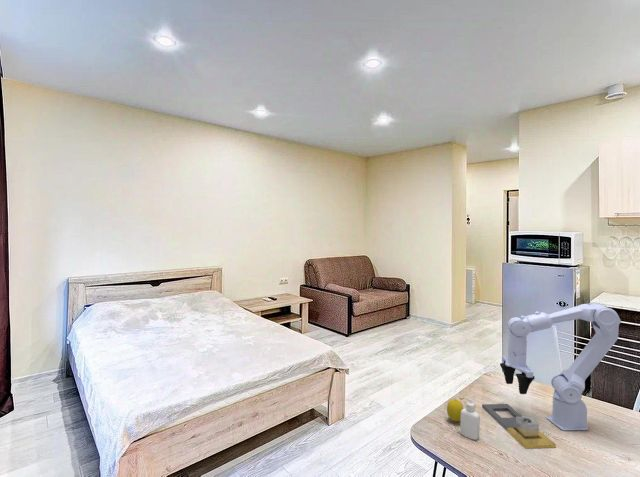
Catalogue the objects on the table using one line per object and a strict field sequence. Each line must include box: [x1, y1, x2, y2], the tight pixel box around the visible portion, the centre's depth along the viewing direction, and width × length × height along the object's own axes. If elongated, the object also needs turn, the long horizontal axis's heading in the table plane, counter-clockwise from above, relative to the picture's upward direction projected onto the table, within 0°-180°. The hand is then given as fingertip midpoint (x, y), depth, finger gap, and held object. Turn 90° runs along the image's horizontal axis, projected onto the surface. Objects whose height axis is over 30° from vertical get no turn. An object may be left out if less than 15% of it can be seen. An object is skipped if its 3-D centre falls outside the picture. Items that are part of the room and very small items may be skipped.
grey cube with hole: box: [516, 416, 540, 439], centre depth 109 cm, size 4×4×5 cm
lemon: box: [446, 398, 465, 423], centre depth 117 cm, size 6×6×8 cm
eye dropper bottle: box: [459, 398, 481, 441], centre depth 109 cm, size 4×6×12 cm
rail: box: [481, 403, 557, 449], centre depth 115 cm, size 10×24×1 cm, turn 4°
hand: (515, 388), depth 121 cm, fingers open, 7 cm apart
